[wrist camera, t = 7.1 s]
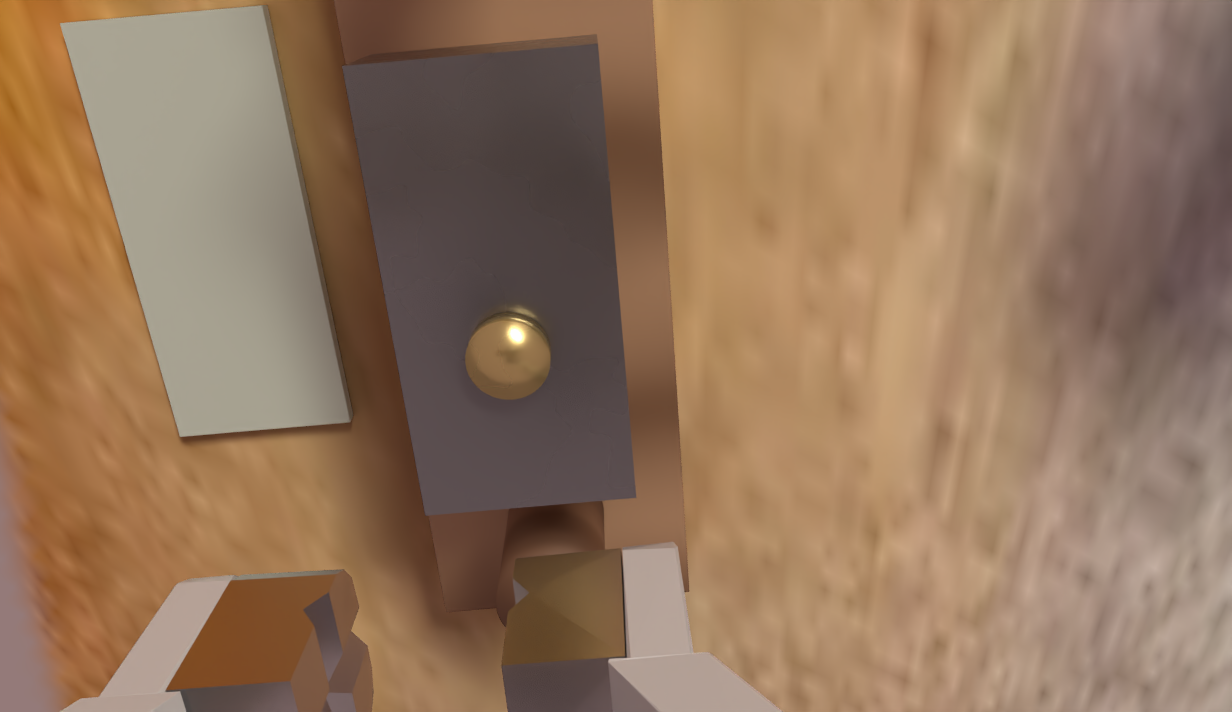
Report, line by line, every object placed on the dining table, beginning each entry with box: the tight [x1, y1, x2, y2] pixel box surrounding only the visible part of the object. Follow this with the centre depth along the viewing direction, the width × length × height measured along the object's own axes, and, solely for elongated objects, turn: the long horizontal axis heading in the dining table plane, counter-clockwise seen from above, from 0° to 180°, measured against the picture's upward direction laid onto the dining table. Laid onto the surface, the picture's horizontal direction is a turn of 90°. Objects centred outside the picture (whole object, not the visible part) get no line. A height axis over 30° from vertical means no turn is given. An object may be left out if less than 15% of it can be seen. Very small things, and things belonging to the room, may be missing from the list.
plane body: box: [334, 0, 689, 627], centre depth 21 cm, size 24×7×8 cm, turn 5°
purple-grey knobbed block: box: [342, 34, 636, 516], centre depth 19 cm, size 9×4×3 cm, turn 5°
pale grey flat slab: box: [60, 5, 353, 437], centre depth 25 cm, size 11×5×1 cm, turn 5°
